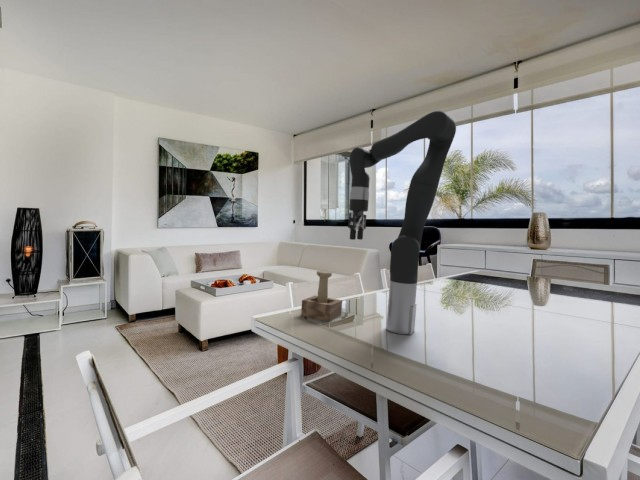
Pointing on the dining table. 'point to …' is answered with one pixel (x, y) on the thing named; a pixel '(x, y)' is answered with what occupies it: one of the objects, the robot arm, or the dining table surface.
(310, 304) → the brown wooden open box
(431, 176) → the robot arm
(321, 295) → the handle
